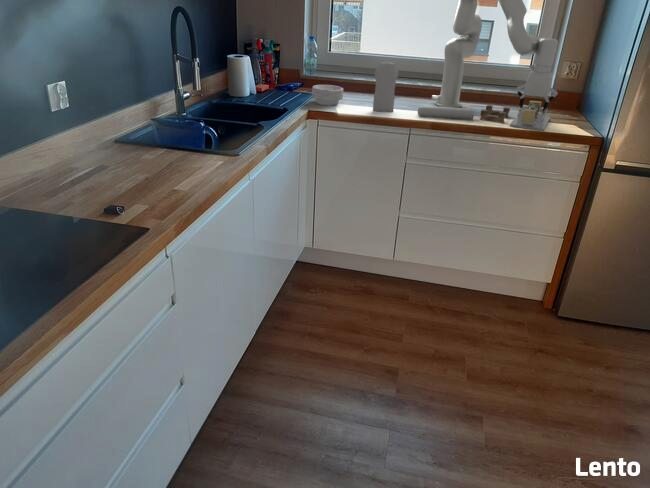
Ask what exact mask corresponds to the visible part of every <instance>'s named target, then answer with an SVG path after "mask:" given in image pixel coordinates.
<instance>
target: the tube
mask: <svg viewBox="0 0 650 488" xmlns="http://www.w3.org/2000/svg"><path fill="white" fill-rule="evenodd" d="M417 115H418V116H419V117H423V118H436V119H437V118H438V119H450V120H451V119H452V120H465V121H474V116H475V108H474V107H472V108H468V107H467V108H465V107H459V108H452V107H440V106H435V105H434V106H431V105H421V106H419V107H418V108H417Z"/></svg>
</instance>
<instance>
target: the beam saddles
mask: <svg viewBox="0 0 650 488" xmlns="http://www.w3.org/2000/svg"><path fill="white" fill-rule="evenodd" d="M493 107H494V106H493V104H486V107H485V108H483V109H481V110H480V118H479V119H480V121H481V120H483V121H487V122H488V121H490V122H497V123H503V122H504V121H505V118H507V117H509V113H510V111H511V107H508V106H504V107H503V110H499V109H498V110H497V109H493Z"/></svg>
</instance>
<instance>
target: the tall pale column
mask: <svg viewBox="0 0 650 488" xmlns="http://www.w3.org/2000/svg"><path fill="white" fill-rule="evenodd" d="M377 65H378V66H377V68H376V69H375V71H374V79H375V89H374V91H375V92H374V94H373V103H372V112H380V113H393V112H394V107H395V98H396V97H395V90H396V89H395V88H396V83H397V81H396V80H398V77H399V70H397V66H396V65H397V64H396V63H393V62H390V61H385V62H378V64H377Z"/></svg>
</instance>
